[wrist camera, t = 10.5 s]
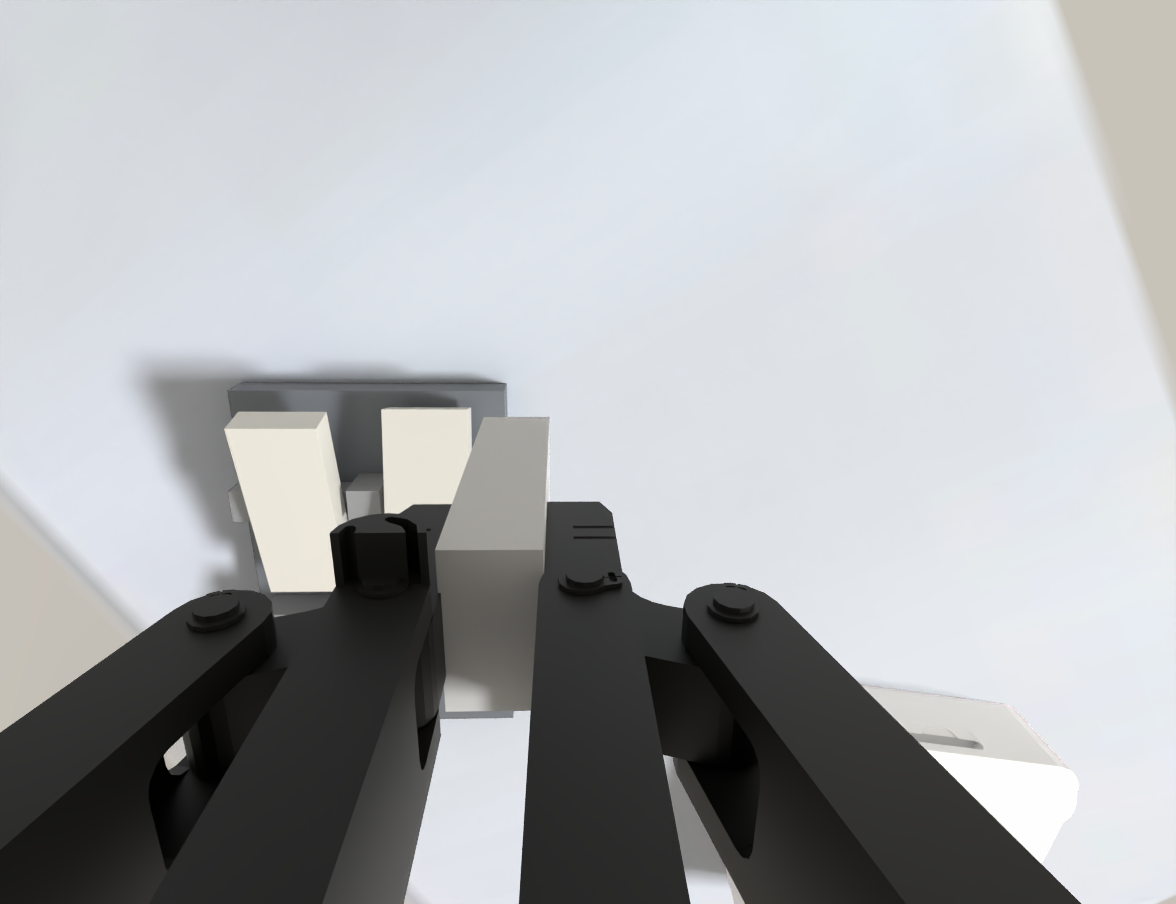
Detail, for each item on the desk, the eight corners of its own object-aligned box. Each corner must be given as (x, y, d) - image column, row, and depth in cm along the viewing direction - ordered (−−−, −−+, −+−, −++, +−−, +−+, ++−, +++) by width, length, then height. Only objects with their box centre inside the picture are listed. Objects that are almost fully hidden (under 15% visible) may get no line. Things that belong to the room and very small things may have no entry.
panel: (241, 382, 45) (203, 403, 40) (506, 383, 45) (500, 403, 41) (290, 703, 53) (264, 751, 48) (514, 699, 54) (510, 747, 49)
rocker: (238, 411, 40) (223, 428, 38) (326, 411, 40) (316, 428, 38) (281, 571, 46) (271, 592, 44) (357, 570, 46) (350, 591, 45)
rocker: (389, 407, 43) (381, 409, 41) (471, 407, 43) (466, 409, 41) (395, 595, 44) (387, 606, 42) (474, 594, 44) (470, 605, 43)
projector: (955, 895, 63) (1001, 975, 56) (716, 871, 61) (735, 950, 54) (1045, 707, 56) (1109, 772, 50) (780, 672, 54) (810, 735, 48)
